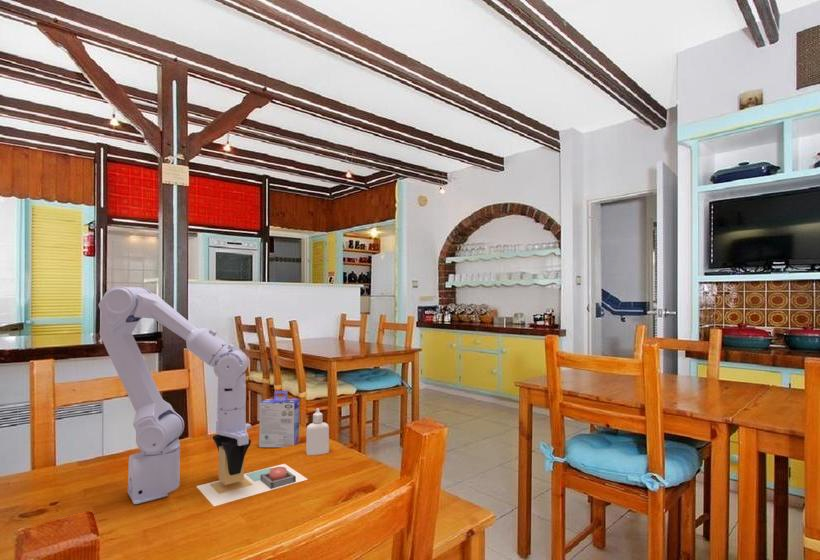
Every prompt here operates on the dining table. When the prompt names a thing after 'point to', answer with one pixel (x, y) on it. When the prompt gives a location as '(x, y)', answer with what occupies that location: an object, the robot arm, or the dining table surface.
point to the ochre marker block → (224, 471)
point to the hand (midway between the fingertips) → (231, 470)
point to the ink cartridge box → (279, 421)
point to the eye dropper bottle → (317, 435)
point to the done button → (277, 473)
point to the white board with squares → (247, 485)
